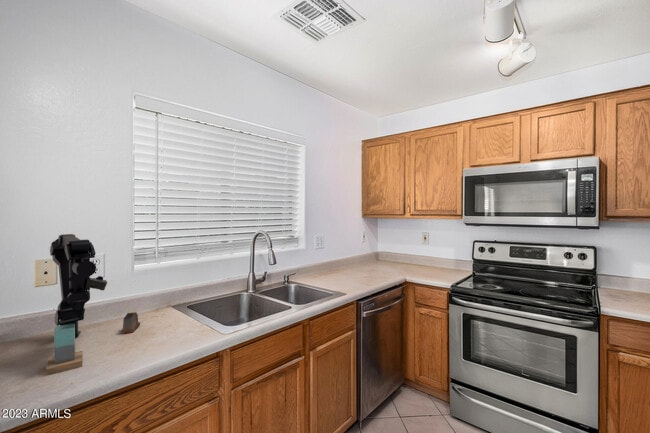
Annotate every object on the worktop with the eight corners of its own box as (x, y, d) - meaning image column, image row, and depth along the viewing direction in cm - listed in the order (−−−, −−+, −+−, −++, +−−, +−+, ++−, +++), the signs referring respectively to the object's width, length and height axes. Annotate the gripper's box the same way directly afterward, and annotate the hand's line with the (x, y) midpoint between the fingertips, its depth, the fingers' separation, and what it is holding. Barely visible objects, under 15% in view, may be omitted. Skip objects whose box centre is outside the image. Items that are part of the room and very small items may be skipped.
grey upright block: (140, 324, 139) (140, 308, 139) (133, 333, 130) (133, 315, 130) (130, 325, 138) (129, 309, 138) (121, 334, 129) (121, 316, 129)
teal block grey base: (56, 358, 103) (55, 326, 103) (75, 354, 106) (74, 323, 106) (54, 364, 99) (54, 331, 99) (74, 360, 103) (74, 327, 102)
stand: (48, 364, 104) (48, 358, 104) (82, 356, 109) (82, 350, 109) (46, 375, 97) (45, 369, 97) (82, 366, 102) (82, 360, 102)
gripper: (106, 274, 112) (107, 316, 113) (104, 267, 127) (105, 304, 127) (67, 278, 105) (68, 323, 106) (69, 270, 120) (70, 309, 120)
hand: (79, 314), depth 115 cm, fingers open, 9 cm apart
